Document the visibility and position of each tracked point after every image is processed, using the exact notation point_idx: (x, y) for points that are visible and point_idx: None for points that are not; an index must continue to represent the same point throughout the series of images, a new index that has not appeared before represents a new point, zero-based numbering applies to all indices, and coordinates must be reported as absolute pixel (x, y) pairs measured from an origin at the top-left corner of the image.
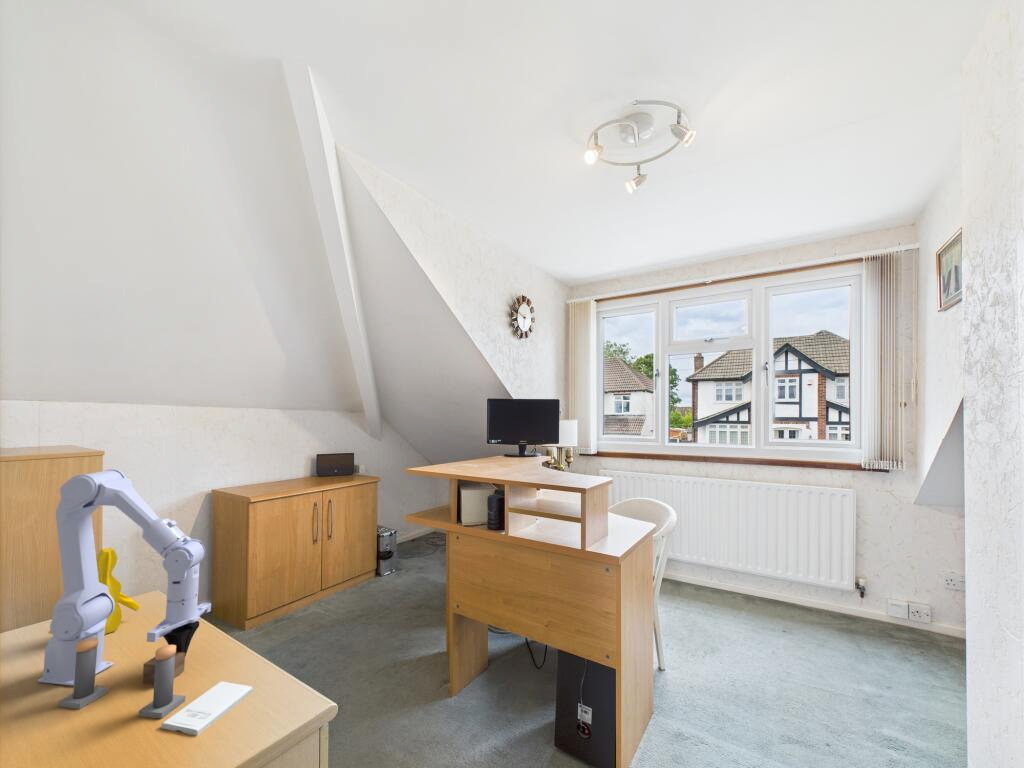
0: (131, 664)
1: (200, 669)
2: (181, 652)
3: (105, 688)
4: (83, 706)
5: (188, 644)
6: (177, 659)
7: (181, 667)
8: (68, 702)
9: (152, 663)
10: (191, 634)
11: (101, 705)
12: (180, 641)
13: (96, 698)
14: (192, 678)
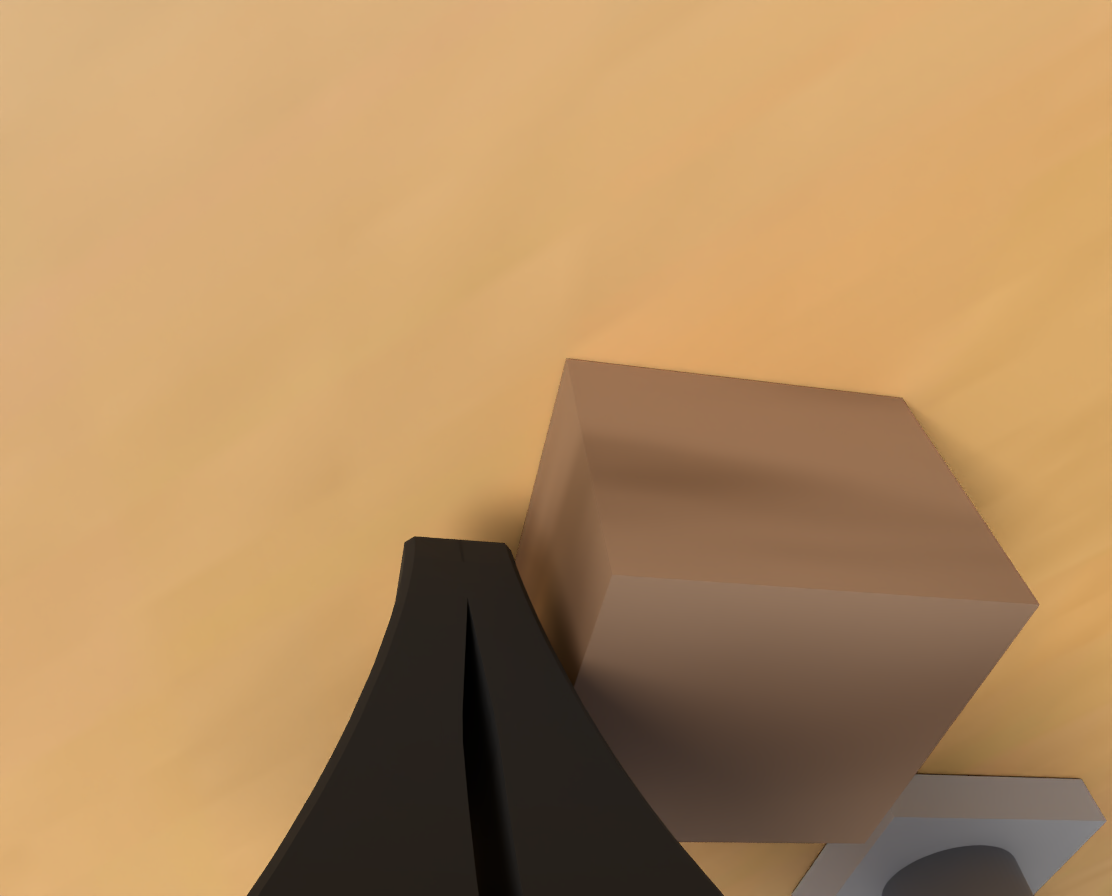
0: None
1: (519, 124)
2: (594, 632)
3: (905, 819)
4: (1059, 782)
5: (408, 689)
6: (775, 557)
7: (635, 418)
8: (1041, 885)
9: (895, 772)
10: (384, 878)
11: (1091, 690)
12: (690, 865)
13: (966, 780)
14: (807, 82)
